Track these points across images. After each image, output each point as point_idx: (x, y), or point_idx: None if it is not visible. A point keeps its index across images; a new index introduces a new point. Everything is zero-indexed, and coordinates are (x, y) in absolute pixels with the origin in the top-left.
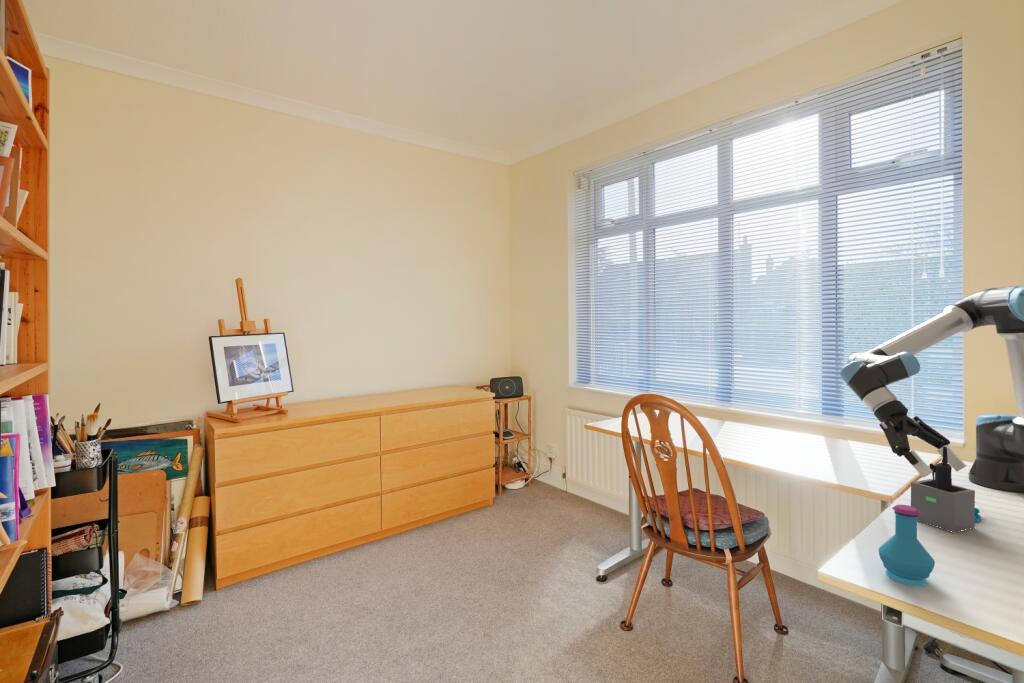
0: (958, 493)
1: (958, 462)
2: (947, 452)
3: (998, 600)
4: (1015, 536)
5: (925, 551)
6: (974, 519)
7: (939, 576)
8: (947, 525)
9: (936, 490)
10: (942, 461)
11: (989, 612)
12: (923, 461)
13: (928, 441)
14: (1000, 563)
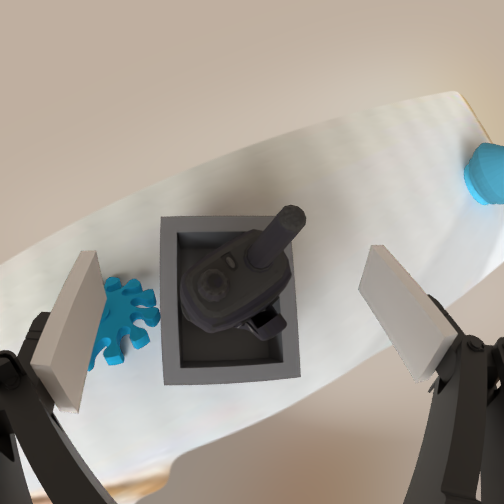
0: (263, 217)
1: (90, 280)
2: (70, 345)
3: (423, 109)
4: (137, 191)
5: (496, 145)
6: (119, 281)
7: (444, 164)
8: None
9: (292, 279)
10: (227, 289)
11: (448, 109)
12: (404, 281)
13: (95, 478)
14: (325, 139)
